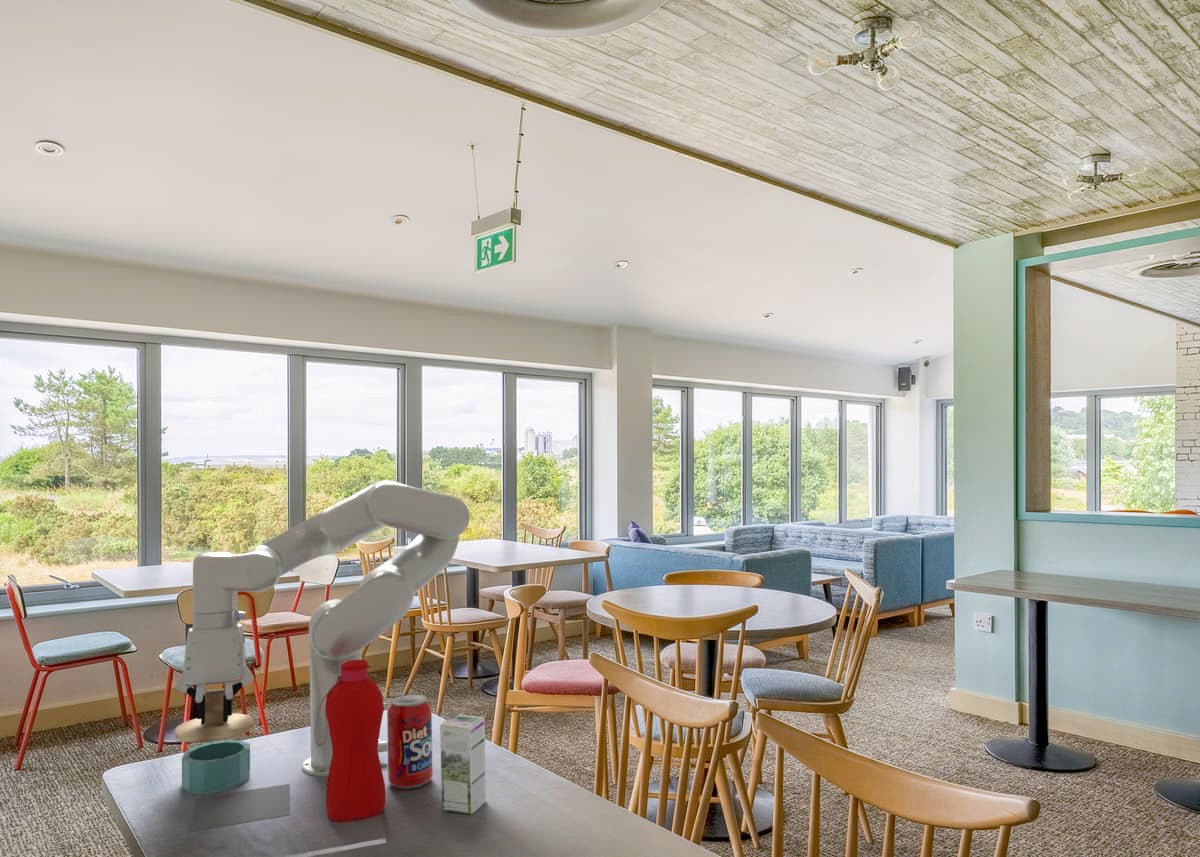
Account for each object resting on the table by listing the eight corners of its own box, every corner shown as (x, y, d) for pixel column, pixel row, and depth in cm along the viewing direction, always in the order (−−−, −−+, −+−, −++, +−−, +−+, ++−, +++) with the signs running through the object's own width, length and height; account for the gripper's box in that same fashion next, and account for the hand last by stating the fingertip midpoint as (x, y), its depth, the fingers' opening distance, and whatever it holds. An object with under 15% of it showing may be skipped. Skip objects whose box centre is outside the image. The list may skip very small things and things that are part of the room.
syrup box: (487, 801, 139) (486, 715, 140) (471, 816, 134) (469, 726, 134) (457, 797, 141) (456, 712, 142) (440, 811, 136) (438, 723, 136)
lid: (254, 715, 158) (254, 678, 158) (251, 736, 146) (251, 697, 146) (179, 723, 153) (179, 686, 154) (170, 746, 141) (170, 705, 141)
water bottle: (314, 808, 138) (312, 659, 139) (381, 797, 142) (379, 652, 143) (317, 831, 129) (315, 672, 130) (388, 818, 133) (385, 664, 134)
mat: (289, 787, 147) (289, 783, 147) (289, 818, 134) (289, 814, 134) (197, 801, 142) (197, 797, 142) (187, 835, 129) (187, 831, 129)
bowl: (251, 768, 157) (251, 737, 157) (248, 790, 146) (248, 756, 146) (186, 778, 153) (186, 745, 153) (178, 801, 142) (178, 766, 142)
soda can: (395, 774, 152) (394, 693, 153) (437, 774, 152) (435, 692, 152) (382, 792, 144) (381, 706, 145) (426, 791, 144) (425, 705, 144)
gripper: (264, 613, 157) (263, 710, 156) (168, 620, 151) (167, 720, 150) (262, 620, 150) (262, 721, 149) (162, 627, 144) (161, 733, 143)
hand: (214, 720), depth 150 cm, fingers closed on lid, 3 cm apart
